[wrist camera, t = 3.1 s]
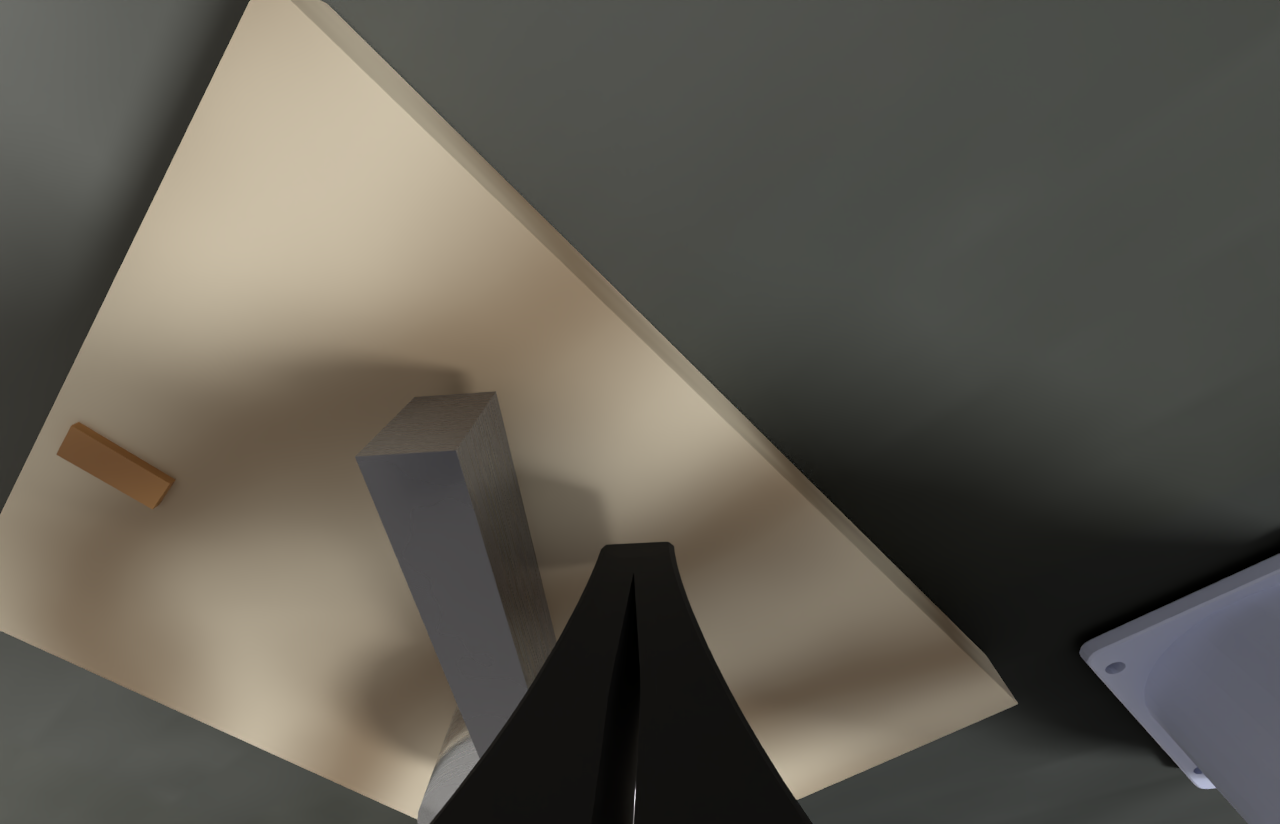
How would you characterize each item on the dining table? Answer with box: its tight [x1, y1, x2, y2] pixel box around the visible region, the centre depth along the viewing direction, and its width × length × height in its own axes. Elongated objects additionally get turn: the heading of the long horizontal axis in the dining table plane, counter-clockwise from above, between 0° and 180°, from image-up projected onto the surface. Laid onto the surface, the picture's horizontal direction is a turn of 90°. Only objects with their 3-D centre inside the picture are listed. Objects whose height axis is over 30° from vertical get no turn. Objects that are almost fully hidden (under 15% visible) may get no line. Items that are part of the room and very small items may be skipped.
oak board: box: [0, 0, 1018, 820], centre depth 13 cm, size 22×18×4 cm
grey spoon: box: [355, 391, 636, 824], centre depth 11 cm, size 14×6×2 cm, turn 5°
